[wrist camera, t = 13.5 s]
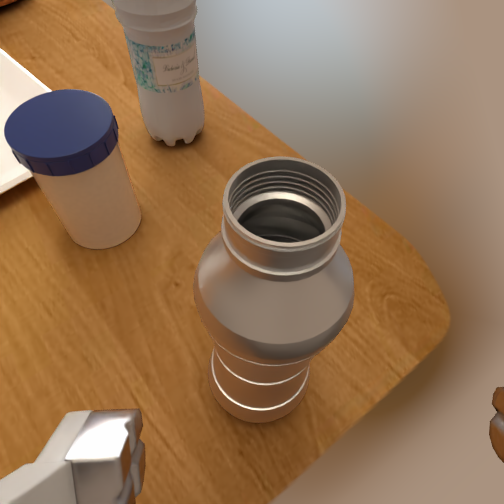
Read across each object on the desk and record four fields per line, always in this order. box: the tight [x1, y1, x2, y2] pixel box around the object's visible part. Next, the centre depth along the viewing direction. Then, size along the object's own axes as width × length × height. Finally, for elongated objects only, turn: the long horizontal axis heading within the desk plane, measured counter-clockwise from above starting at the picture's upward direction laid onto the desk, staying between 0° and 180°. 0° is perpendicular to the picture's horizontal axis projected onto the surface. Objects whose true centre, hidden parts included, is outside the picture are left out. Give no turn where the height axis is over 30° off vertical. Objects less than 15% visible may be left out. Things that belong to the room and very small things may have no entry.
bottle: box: [111, 0, 204, 146], centre depth 34 cm, size 7×7×20 cm
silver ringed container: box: [193, 157, 354, 423], centre depth 20 cm, size 6×7×20 cm
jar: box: [29, 142, 141, 249], centre depth 32 cm, size 7×7×10 cm
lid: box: [4, 89, 119, 176], centre depth 28 cm, size 7×7×2 cm
